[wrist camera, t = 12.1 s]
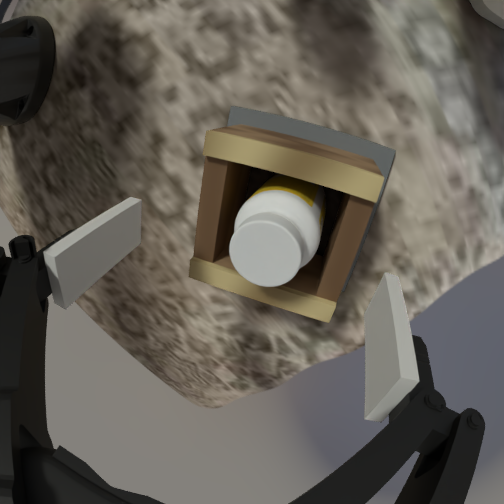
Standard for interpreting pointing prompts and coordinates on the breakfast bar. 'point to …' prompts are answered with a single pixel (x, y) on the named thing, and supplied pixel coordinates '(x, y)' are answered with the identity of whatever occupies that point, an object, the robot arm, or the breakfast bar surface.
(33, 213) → the breakfast bar surface
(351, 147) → the flat square frame
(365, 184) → the wooden box
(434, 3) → the breakfast bar surface
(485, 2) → the bowl
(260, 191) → the supplement bottle
